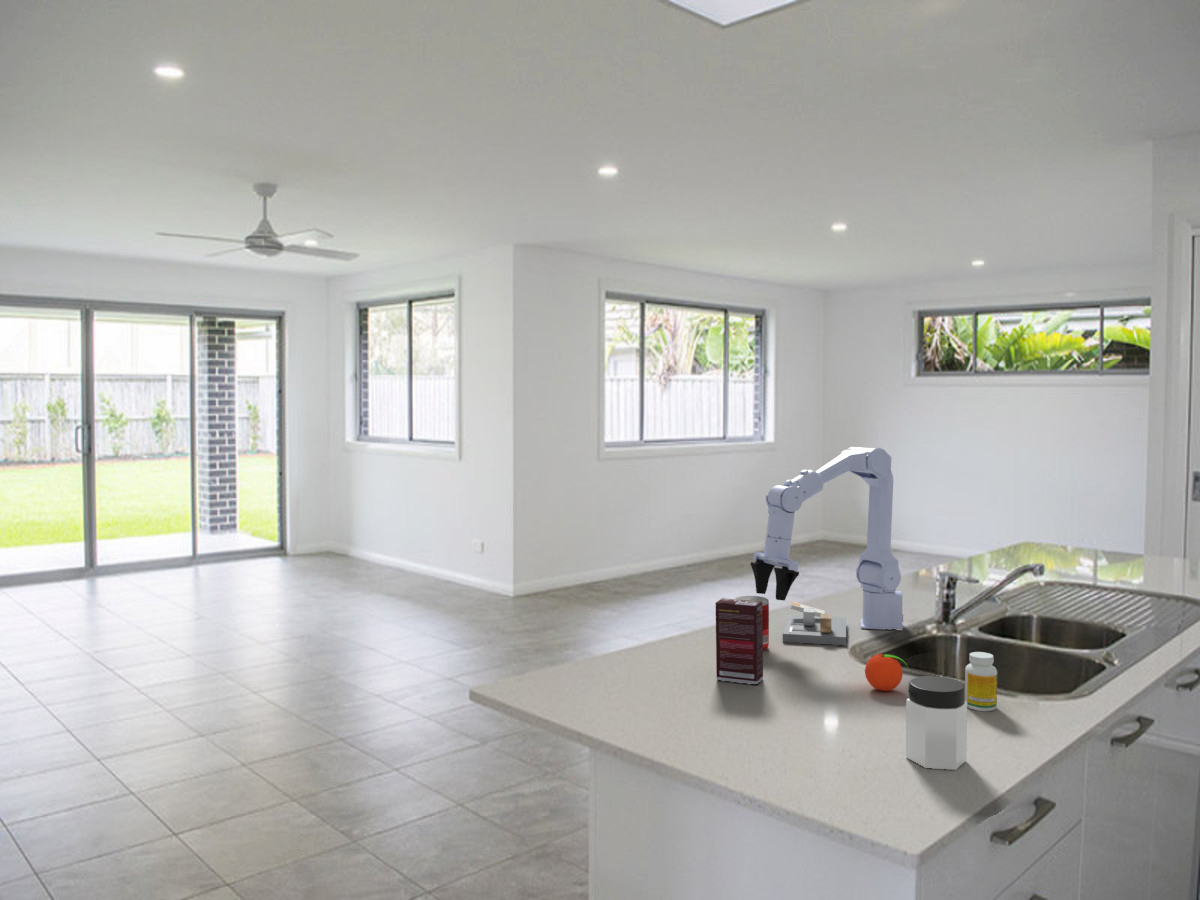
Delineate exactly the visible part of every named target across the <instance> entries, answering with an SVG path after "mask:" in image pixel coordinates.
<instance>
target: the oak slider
mask: <svg viewBox="0 0 1200 900" xmlns="http://www.w3.org/2000/svg"><path fill="white" fill-rule="evenodd" d="M831 617H832V614H831V613H825V614H821V616H820V632H829V633H831Z"/></svg>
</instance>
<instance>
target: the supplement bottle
mask: <svg viewBox="0 0 1200 900" xmlns="http://www.w3.org/2000/svg"><path fill="white" fill-rule="evenodd" d="M994 659H995V658H994V655H993V654H991V653H989V652H983V651H974V652H970V653H969V663H968V664H967V665H965V668H964V686H965V701H966V702H967V709H970V710H974V711H978V712H992V711H994V710H996V708H997V704H998V698H997V697H998V670H997V668H996V667H995V666H994V665H993V664H994V661H995V660H994Z"/></svg>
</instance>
